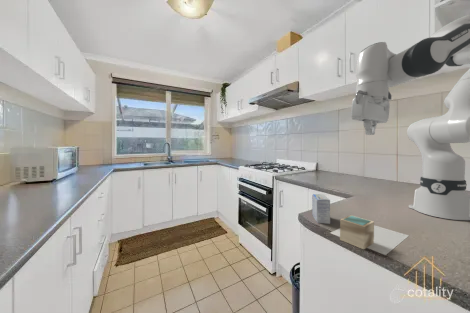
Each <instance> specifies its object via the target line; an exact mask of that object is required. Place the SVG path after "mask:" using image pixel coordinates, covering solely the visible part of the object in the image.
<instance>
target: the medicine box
mask: <svg viewBox="0 0 470 313" xmlns="http://www.w3.org/2000/svg"><path fill="white" fill-rule="evenodd" d="M311 200H312V201H311V205H312V210H311V212H312V217H313V218H314V220H315V221H316V223H317V224H327V225H329V224H331V199H329V197H327V196H326V195H325V194H317V193H316V194H314V193H313V194H312V197H311Z"/></svg>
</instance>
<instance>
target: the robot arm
mask: <svg viewBox="0 0 470 313" xmlns="http://www.w3.org/2000/svg"><path fill="white" fill-rule="evenodd" d="M445 65H446V66H447V67H461V66H464V65H470V13H469V14H466V15H464V16H462V17H459V18H456V19H454V20H453V21H451V22H449V23H447V24H445V25H443V26H442V27H441V28H439V29H438V30H436V31H435V32H434V33H433V34H431V36H429V37H426V38H423V39H422V40H420V41H418V42H417V43H414V45H412V46H410V47H408V48H406V49H404V50H403V51H400V52H399V53H397V54H396V53H394V52H392V51H391V50H390V49H389V48H388V45H387V42H386V41H379V42H376V43H373V44H370V45H369V46H367V47H365V48H364V49H362V50H361V51H360V52H359V54H358V55H357V61H356V71H355V77H356V80H357V81H356V85H355V95H354V96H355V97H353V99H352V102H351V110H350V111H351V112H350V117H351V119H352V120H354V121H358V122H363V126H364V129H365V131H364V134H365V135H366V136H373V135H375V134H376V128H377V126H378V124H385V123H387V122H388V121H389V116H390V106H391V105H390V101H392V96H393V95H392V94H391V92H390V89H389V88H393V87H395V86H398V85H401V84H405V83H406V82H409V81H412V80H416V79H417V78H418V79H419V78H421V77H425V76H429V75H432V74H435V73H437V72H439V71H440V70H441V69H442V68H443V67H444V66H445ZM443 104H444V106H445V108H446V109H448V110H447V112H445V113H444V114H442V115H437V116H433V117H431V116H430V117H425V118H423V119H420V120H417V121H415V122H412V123H411V124H410V125H409V126H408V127H407V129H406V136H407V138H408V139H409V140H410V142H412V143H413V144H415V145H416V147H417V148H418V152H419V154H420V156H421V162H422V163H421V169H422V170H421V173H422V174H421V176H420V180H419V182H420V183H419V185H420V186H419V187H418V188H416V189H415V190H414V197H413V203H412V204H408V208H409V209H411V210H415V211H416V212H419V213H421V214H425V215H427V216H430V217H431V216H432V217H434V218H435V217H437V218H441V219H446V220H454V221H470V194H468V193H467V192H466V190H467V180H465V179H466V178H465V175H466V160H465V158H464V157H463V156H461V155H459V154H457V153H455V151H454V150H453V149H452V145H451V144H465V143H470V68H469V69H467V70H466V72H464V74H463V75H461V77H460V78H459V79H458V81H457V82H456V83H455V85H454V86H453V87H452V89H451V90H450V91H449V93H448V94H447V95H446V96H445V98H444V101H443Z"/></svg>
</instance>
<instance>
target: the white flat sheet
mask: <svg viewBox="0 0 470 313" xmlns="http://www.w3.org/2000/svg"><path fill="white" fill-rule="evenodd" d="M330 234H332V235H334V236H336V237H338V238H340V227H339V228H337V229H335V230H333V231H331V232H330ZM408 237H409V234H405V233H401V232H398V231H395V230H392V229H390V228H389V229H388V228H385V227H381V226H379V225H375V224H374V243H373V244H371V245H370V246H368V247H367V248H366V249H369V250H372V251H374V252H376V253H379V254H381V255H384V256H387V254H389V253H390V252H392V250H394V249H395V248H396V247H397V246H398V245H400V244H401V243H402V242H403V241H404V240H406V239H407V238H408Z"/></svg>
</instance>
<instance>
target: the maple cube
mask: <svg viewBox="0 0 470 313" xmlns="http://www.w3.org/2000/svg"><path fill="white" fill-rule="evenodd" d="M339 221H340V222H339V224H340V225H339V228H340V237H339V240H340V241H342V242H344V243H345V244H346V243H347V244H349V245H352V246H354V247H357V248H359V249H362V250H366V249H368V248H367V247H368V246H370V245H371V244H373V243H374V225H375V221H374V220H370V219H366V218H362V217H359V216H356V215H351V214H350V215H347V216H345V217H343V218H340V220H339Z"/></svg>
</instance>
